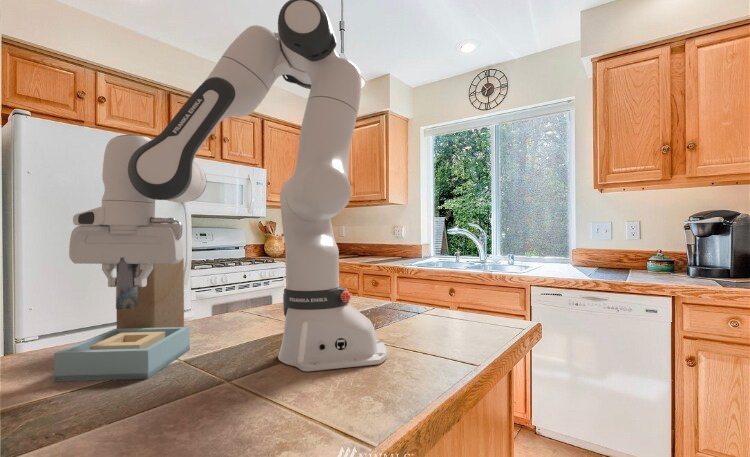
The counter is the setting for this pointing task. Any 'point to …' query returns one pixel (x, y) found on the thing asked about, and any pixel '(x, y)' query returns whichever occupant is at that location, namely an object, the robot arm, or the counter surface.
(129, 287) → the peg
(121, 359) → the bin
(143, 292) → the wooden block
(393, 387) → the counter surface
